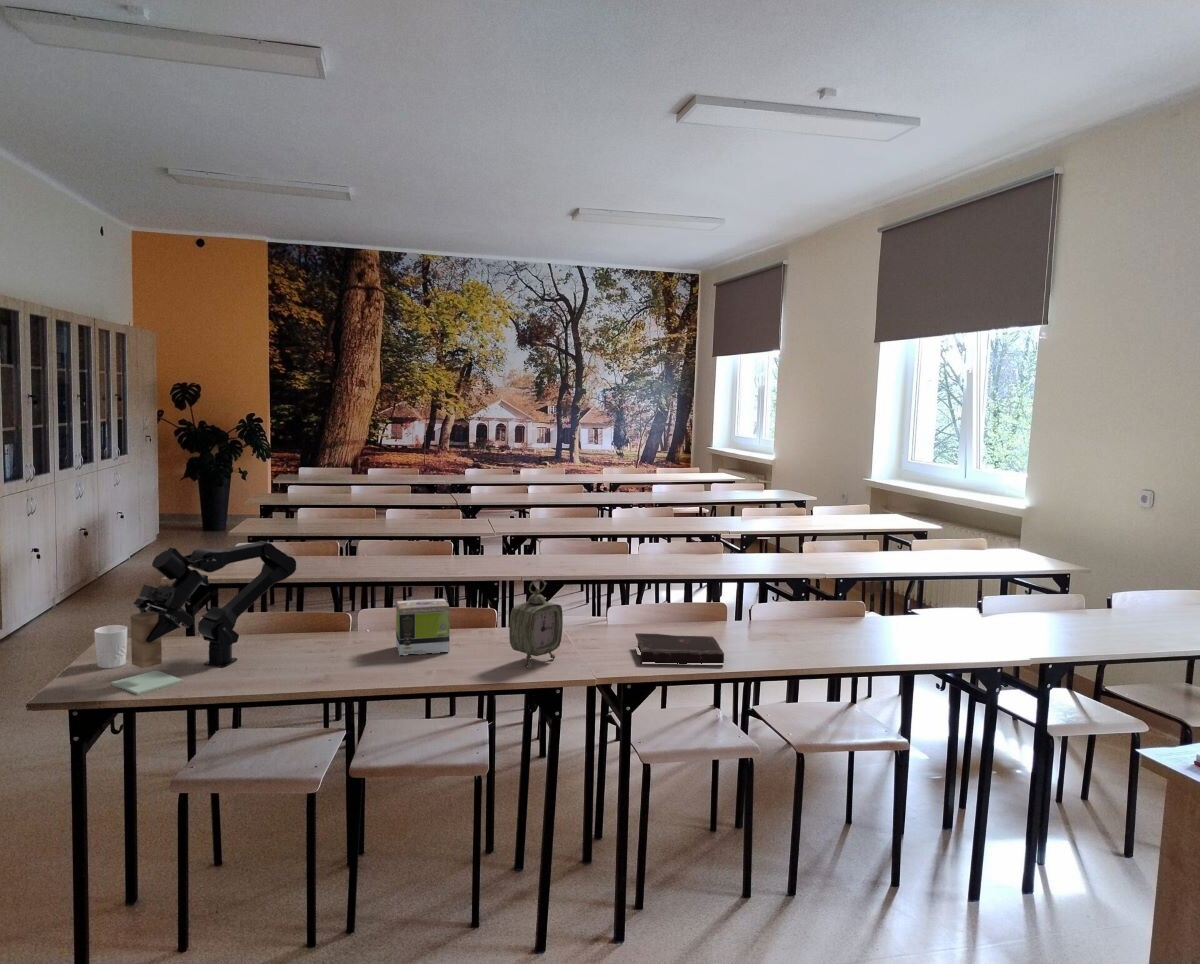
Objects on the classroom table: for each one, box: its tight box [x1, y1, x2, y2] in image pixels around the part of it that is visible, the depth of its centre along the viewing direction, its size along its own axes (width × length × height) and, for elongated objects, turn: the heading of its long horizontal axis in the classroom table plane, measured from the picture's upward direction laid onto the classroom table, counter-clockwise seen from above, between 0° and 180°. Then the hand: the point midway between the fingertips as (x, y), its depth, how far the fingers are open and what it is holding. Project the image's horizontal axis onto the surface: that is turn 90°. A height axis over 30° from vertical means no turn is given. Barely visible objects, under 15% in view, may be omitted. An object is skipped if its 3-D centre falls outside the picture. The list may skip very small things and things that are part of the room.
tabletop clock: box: [508, 578, 564, 668], centre depth 248 cm, size 14×9×25 cm, turn 143°
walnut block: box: [130, 611, 163, 669], centre depth 218 cm, size 5×5×13 cm
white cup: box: [93, 624, 128, 669], centre depth 231 cm, size 8×8×10 cm
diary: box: [635, 632, 725, 664], centre depth 261 cm, size 19×25×5 cm
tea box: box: [395, 598, 451, 656], centre depth 255 cm, size 15×10×15 cm
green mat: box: [110, 670, 184, 695], centre depth 219 cm, size 12×12×1 cm
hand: (141, 639), depth 217 cm, fingers closed on walnut block, 5 cm apart
